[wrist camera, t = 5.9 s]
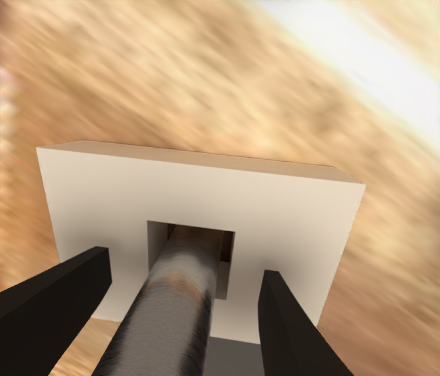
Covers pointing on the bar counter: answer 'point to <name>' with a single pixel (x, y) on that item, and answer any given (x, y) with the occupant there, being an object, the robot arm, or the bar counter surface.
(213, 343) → the mat
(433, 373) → the bar counter surface
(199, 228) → the peg
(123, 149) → the block
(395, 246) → the bar counter surface
